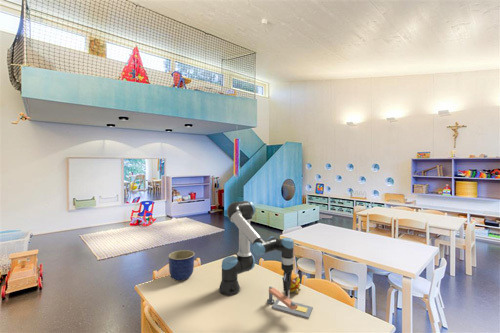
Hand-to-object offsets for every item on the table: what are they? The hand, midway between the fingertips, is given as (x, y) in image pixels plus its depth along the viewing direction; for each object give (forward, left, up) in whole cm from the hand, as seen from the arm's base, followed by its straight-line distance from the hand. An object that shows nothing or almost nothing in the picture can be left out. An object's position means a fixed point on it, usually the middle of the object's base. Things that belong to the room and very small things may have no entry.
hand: (287, 299), depth 158 cm
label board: (+2, +4, -7) cm, 9 cm away
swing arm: (-3, -2, -6) cm, 7 cm away
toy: (-4, +26, -8) cm, 28 cm away
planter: (-91, +5, -7) cm, 92 cm away
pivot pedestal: (-13, +4, -7) cm, 15 cm away
